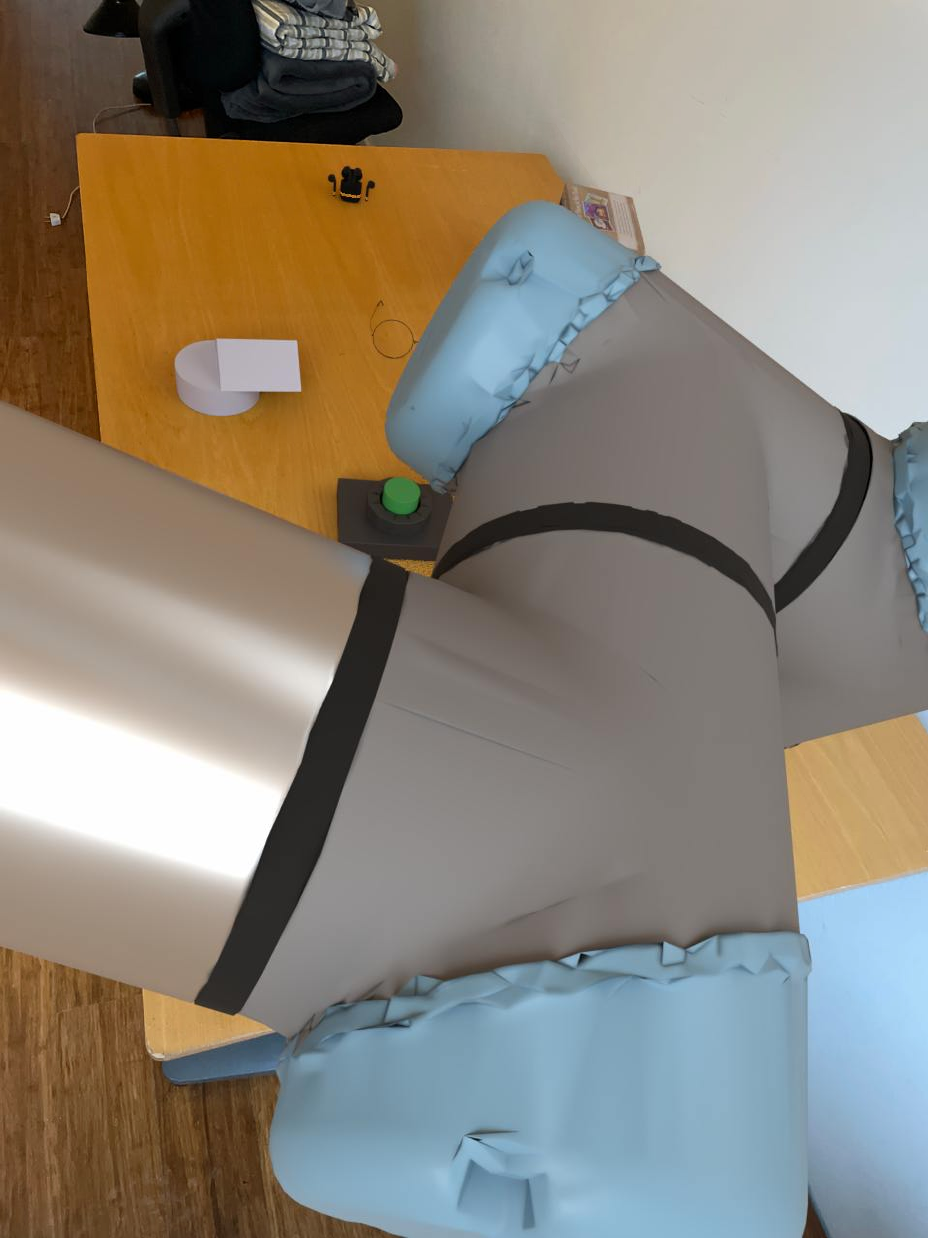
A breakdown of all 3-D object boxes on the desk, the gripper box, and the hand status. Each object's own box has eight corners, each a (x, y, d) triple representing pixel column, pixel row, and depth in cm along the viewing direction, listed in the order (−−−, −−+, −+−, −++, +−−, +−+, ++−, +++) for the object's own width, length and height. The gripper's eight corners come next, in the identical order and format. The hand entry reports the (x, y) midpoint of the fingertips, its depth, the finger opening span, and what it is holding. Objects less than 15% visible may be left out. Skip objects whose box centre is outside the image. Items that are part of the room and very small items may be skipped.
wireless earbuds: (326, 200, 123) (328, 165, 119) (326, 191, 124) (329, 157, 121) (372, 207, 124) (376, 173, 121) (372, 199, 126) (376, 165, 122)
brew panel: (337, 556, 81) (341, 529, 78) (336, 492, 86) (339, 464, 83) (455, 562, 84) (463, 536, 81) (447, 500, 89) (454, 473, 86)
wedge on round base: (289, 365, 97) (174, 364, 93) (291, 316, 92) (170, 312, 88) (299, 415, 92) (179, 416, 88) (302, 365, 87) (174, 364, 83)
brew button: (383, 514, 81) (385, 501, 79) (381, 488, 83) (383, 475, 81) (418, 516, 81) (421, 503, 80) (416, 490, 84) (418, 478, 82)
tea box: (608, 351, 113) (648, 249, 102) (538, 337, 112) (571, 233, 100) (599, 292, 123) (634, 193, 111) (534, 279, 121) (563, 177, 110)
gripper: (726, 1045, 28) (446, 1021, 46) (729, 485, 40) (507, 632, 57) (549, 1003, 26) (322, 994, 43) (609, 417, 38) (413, 593, 55)
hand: (428, 787), depth 50 cm, fingers open, 13 cm apart
